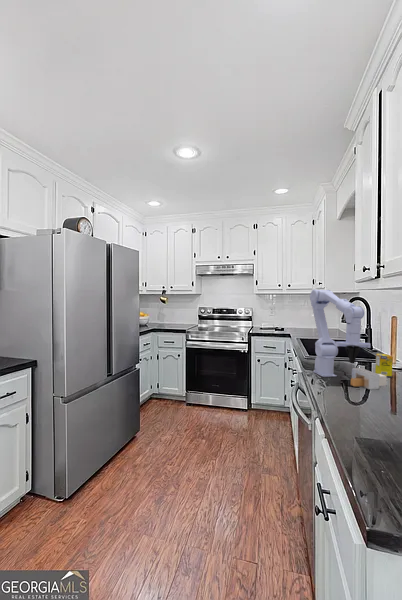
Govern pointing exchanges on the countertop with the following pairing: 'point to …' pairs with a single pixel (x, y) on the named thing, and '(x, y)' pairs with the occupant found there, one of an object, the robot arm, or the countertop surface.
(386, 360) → the supplement box
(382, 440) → the countertop surface
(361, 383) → the plug
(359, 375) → the housing
